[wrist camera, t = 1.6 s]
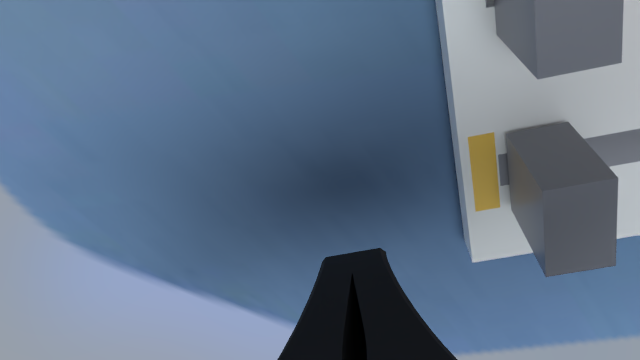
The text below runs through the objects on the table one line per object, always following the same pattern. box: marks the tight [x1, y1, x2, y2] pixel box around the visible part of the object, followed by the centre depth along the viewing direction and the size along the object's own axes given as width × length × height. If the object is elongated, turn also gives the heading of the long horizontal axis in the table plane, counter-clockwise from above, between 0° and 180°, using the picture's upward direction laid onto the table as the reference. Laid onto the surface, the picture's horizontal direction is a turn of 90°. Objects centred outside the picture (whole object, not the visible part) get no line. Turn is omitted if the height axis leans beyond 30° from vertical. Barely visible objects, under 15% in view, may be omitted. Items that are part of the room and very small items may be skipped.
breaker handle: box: [506, 122, 618, 277], centre depth 15 cm, size 2×2×3 cm
